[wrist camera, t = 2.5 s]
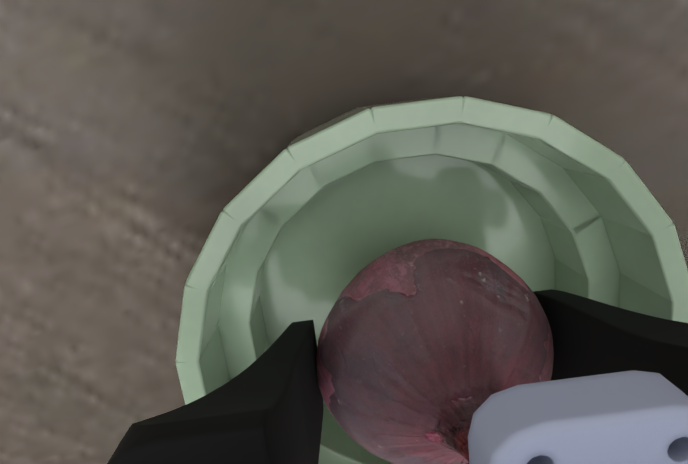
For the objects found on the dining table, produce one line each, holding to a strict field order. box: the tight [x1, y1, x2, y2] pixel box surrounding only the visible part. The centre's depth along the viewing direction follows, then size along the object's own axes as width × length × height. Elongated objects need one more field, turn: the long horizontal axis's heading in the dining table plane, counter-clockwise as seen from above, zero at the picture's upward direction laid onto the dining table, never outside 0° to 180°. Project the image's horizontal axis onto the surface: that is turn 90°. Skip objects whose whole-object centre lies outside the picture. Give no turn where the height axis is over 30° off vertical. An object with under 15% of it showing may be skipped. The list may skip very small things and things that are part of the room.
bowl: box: [175, 96, 688, 464], centre depth 15 cm, size 13×13×5 cm
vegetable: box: [316, 239, 554, 464], centre depth 12 cm, size 6×6×10 cm
